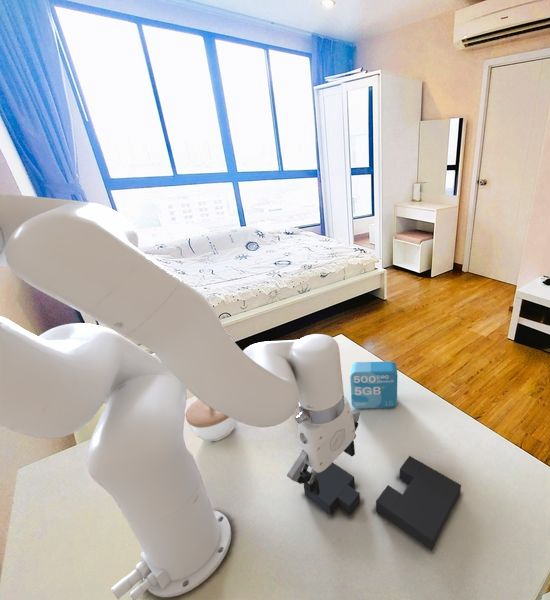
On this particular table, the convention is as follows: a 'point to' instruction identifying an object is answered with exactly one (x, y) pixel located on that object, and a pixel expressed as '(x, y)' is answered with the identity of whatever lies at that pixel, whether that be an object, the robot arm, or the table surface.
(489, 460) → the table surface
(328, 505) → the small pad
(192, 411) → the trinket box
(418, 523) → the large pad
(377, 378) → the data package
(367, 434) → the table surface
